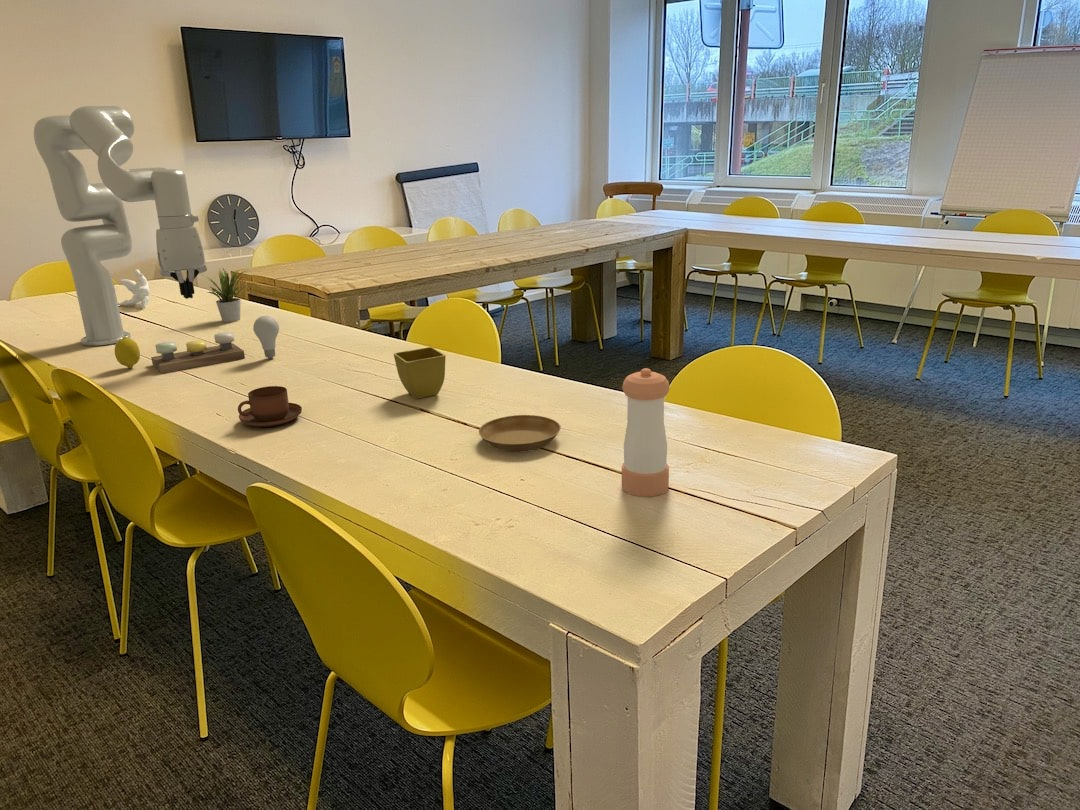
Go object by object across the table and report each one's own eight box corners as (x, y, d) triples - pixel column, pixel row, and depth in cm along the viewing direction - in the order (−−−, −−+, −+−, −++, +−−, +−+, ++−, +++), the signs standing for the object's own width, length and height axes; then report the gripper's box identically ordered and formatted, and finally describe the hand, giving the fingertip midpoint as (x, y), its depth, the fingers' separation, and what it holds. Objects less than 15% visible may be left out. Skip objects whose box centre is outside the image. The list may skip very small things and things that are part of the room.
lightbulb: (288, 356, 210) (282, 314, 206) (271, 362, 204) (265, 319, 201) (269, 354, 212) (263, 312, 209) (252, 360, 207) (246, 317, 203)
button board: (152, 364, 207) (151, 357, 206) (233, 350, 217) (232, 343, 217) (161, 373, 199) (159, 365, 198) (244, 358, 209) (243, 350, 209)
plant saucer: (496, 463, 140) (495, 449, 139) (468, 436, 153) (467, 422, 152) (574, 448, 145) (574, 434, 144) (541, 422, 158) (540, 409, 157)
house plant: (269, 317, 254) (261, 264, 248) (232, 327, 243) (223, 272, 238) (239, 313, 261) (230, 262, 256) (201, 322, 250) (192, 269, 245)
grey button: (214, 350, 212) (212, 334, 210) (233, 347, 214) (230, 331, 213) (219, 354, 208) (216, 337, 207) (238, 351, 211) (235, 334, 209)
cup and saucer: (268, 435, 156) (263, 405, 154) (227, 425, 162) (222, 396, 160) (315, 416, 166) (311, 387, 164) (274, 407, 172) (270, 379, 170)
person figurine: (99, 275, 276) (139, 267, 269) (131, 276, 288) (170, 269, 281) (105, 314, 277) (145, 306, 270) (136, 314, 288) (175, 307, 282)
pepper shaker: (616, 493, 126) (615, 374, 120) (628, 475, 133) (628, 360, 127) (662, 499, 124) (664, 377, 118) (673, 480, 130) (675, 363, 124)
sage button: (156, 361, 204) (153, 343, 203) (176, 357, 207) (173, 340, 205) (160, 365, 201) (157, 347, 199) (180, 361, 203) (177, 344, 202)
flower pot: (409, 403, 171) (406, 361, 168) (396, 392, 178) (392, 352, 175) (449, 396, 174) (446, 355, 172) (434, 385, 182) (431, 346, 179)
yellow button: (187, 359, 208) (184, 342, 207) (205, 356, 211) (202, 339, 209) (191, 363, 205) (188, 346, 203) (210, 359, 207) (207, 343, 206)
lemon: (133, 371, 201) (126, 339, 199) (113, 371, 202) (106, 339, 200) (147, 365, 206) (141, 334, 204) (128, 364, 207) (121, 333, 205)
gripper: (204, 218, 206) (215, 291, 212) (139, 224, 198) (153, 299, 204) (211, 221, 200) (223, 296, 206) (145, 227, 192) (159, 304, 198)
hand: (188, 297), depth 205 cm, fingers closed
